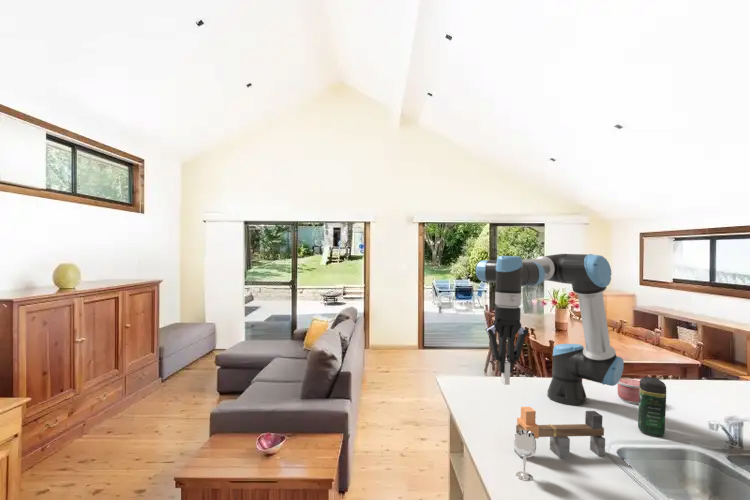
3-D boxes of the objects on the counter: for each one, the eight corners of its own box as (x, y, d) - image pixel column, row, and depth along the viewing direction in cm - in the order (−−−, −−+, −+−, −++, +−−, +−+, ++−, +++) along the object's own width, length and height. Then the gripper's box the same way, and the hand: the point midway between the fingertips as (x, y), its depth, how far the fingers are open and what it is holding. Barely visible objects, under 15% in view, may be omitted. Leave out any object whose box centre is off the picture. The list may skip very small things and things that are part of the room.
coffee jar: (666, 439, 142) (668, 384, 142) (639, 434, 146) (640, 380, 146) (662, 428, 151) (664, 377, 151) (636, 423, 155) (638, 373, 155)
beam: (513, 449, 132) (514, 410, 132) (594, 448, 135) (595, 409, 135) (521, 459, 126) (523, 418, 126) (606, 457, 129) (607, 417, 129)
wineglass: (509, 470, 120) (511, 428, 120) (529, 470, 120) (530, 428, 120) (518, 482, 114) (519, 438, 114) (538, 481, 114) (540, 438, 114)
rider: (516, 429, 133) (517, 405, 132) (528, 429, 133) (529, 405, 133) (526, 438, 126) (526, 413, 126) (538, 438, 127) (539, 413, 126)
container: (629, 395, 185) (629, 377, 185) (651, 404, 176) (651, 385, 175) (610, 397, 182) (611, 379, 182) (632, 406, 172) (633, 387, 172)
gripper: (491, 307, 124) (489, 387, 124) (534, 308, 125) (531, 387, 125) (482, 304, 131) (480, 379, 132) (522, 304, 133) (520, 379, 133)
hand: (505, 383), depth 129 cm, fingers closed
